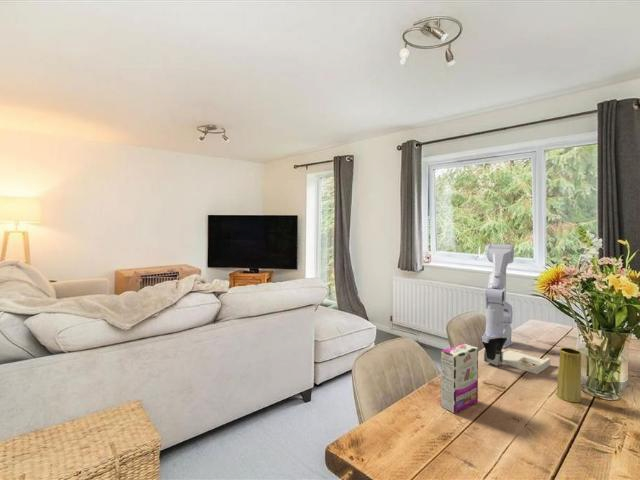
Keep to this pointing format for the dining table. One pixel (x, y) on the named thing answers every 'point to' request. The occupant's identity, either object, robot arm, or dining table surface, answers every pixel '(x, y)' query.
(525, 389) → the dining table surface
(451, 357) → the candy bar box
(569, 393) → the vase
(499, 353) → the clip
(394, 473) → the dining table surface
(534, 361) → the frame
